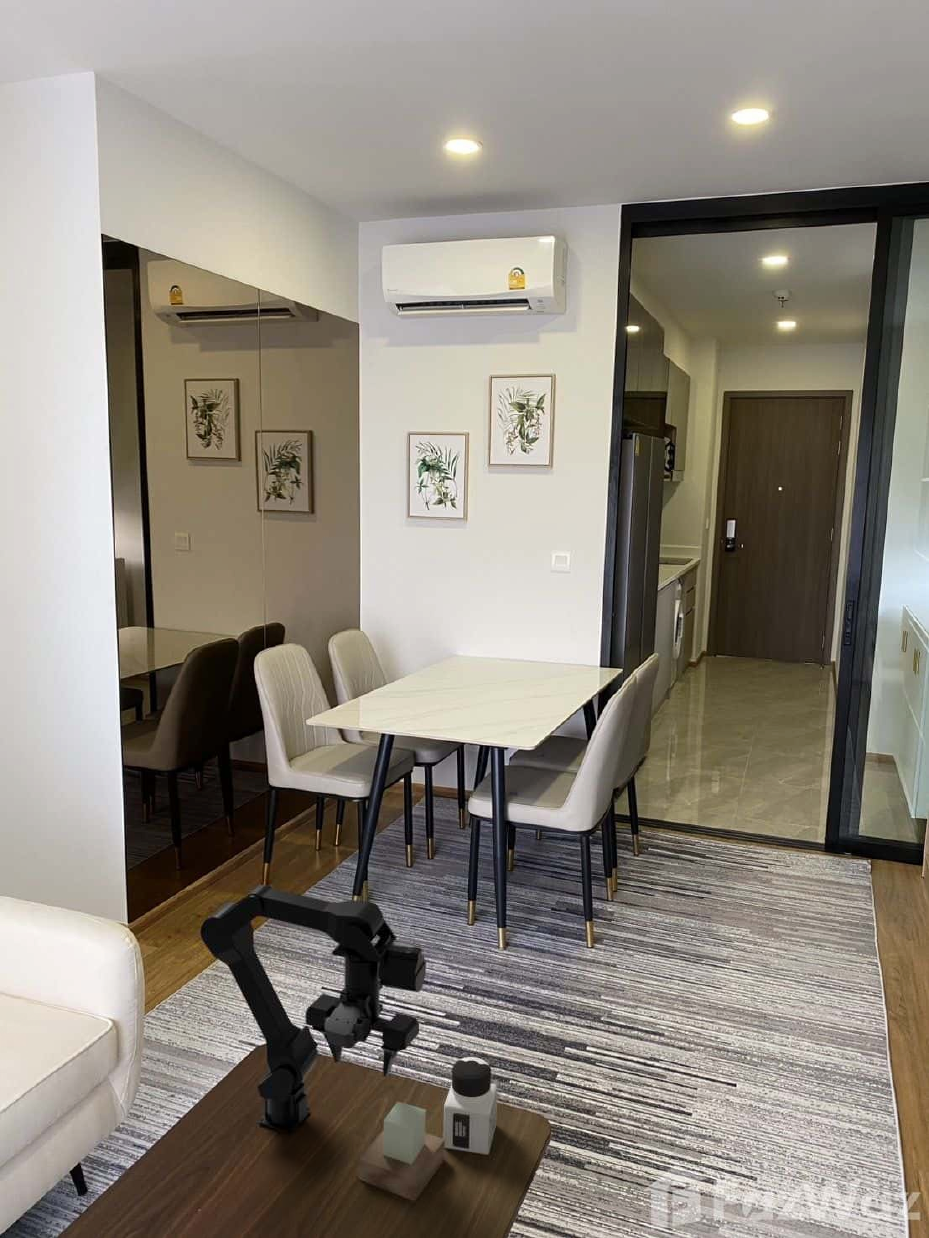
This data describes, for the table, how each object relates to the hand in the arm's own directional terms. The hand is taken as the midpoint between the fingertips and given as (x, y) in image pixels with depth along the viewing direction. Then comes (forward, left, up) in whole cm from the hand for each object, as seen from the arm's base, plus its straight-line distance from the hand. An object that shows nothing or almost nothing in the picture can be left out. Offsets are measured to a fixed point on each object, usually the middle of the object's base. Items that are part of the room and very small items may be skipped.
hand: (361, 1068), depth 154 cm
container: (+17, +7, -12) cm, 22 cm away
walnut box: (+10, -4, -12) cm, 17 cm away
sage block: (+10, -4, -8) cm, 14 cm away
